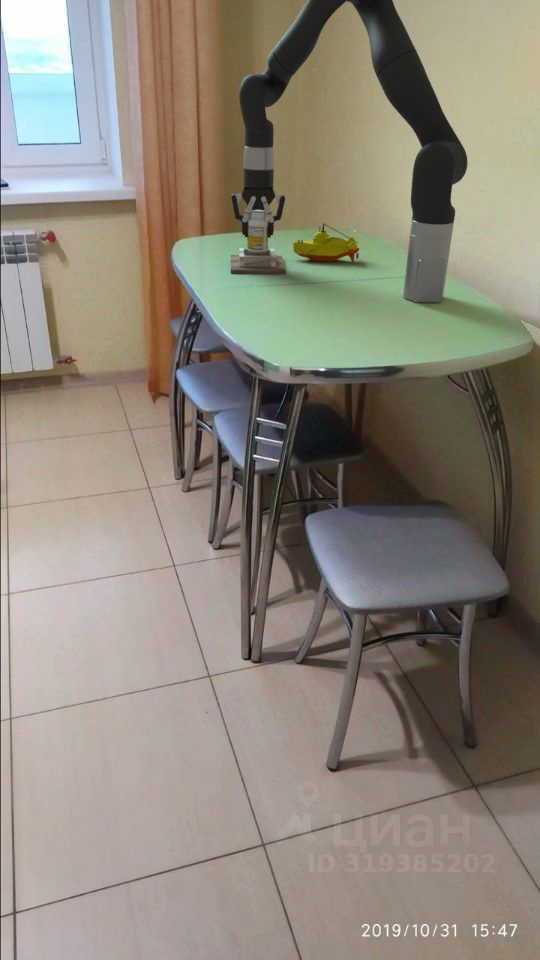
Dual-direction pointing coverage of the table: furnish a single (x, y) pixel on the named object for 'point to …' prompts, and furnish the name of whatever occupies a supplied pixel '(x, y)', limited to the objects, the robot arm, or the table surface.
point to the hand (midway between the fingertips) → (257, 236)
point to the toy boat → (326, 247)
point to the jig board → (257, 262)
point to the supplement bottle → (257, 232)
